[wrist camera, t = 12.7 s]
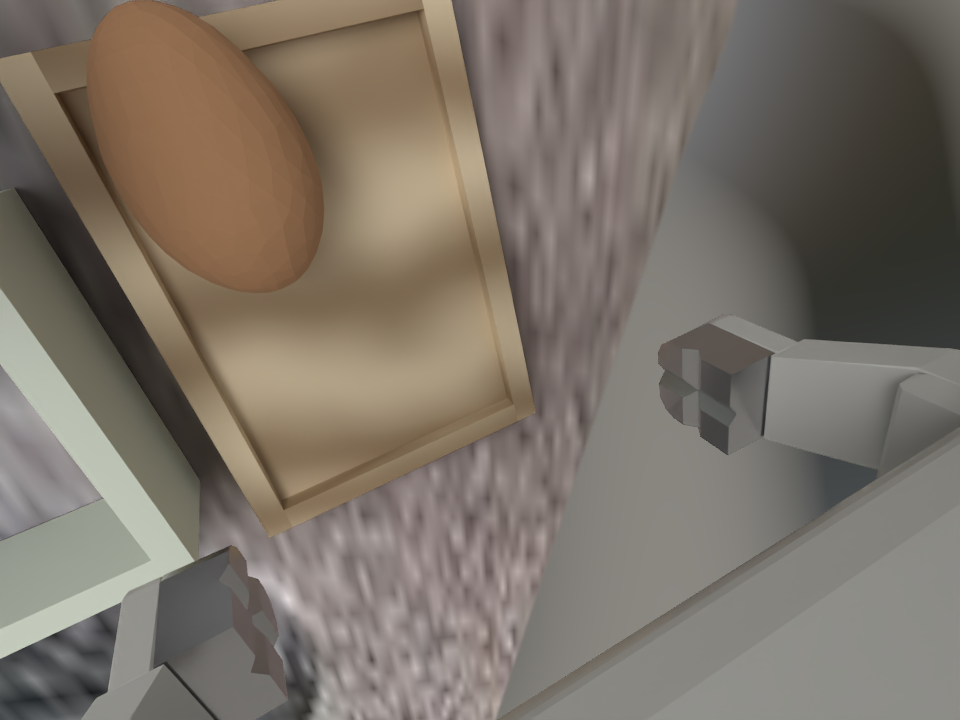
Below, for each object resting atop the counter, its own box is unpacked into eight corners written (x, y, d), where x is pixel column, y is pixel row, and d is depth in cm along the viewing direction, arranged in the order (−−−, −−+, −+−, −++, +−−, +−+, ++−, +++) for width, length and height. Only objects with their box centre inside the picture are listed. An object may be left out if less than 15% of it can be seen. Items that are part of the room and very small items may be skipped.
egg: (380, 234, 19) (263, -38, 15) (321, 310, 15) (133, -40, 10) (258, 267, 20) (120, 29, 16) (172, 343, 16) (-41, 50, 12)
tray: (5, 64, 15) (-13, 61, 14) (428, -25, 19) (444, -35, 17) (266, 515, 24) (269, 538, 23) (521, 399, 28) (535, 412, 26)
